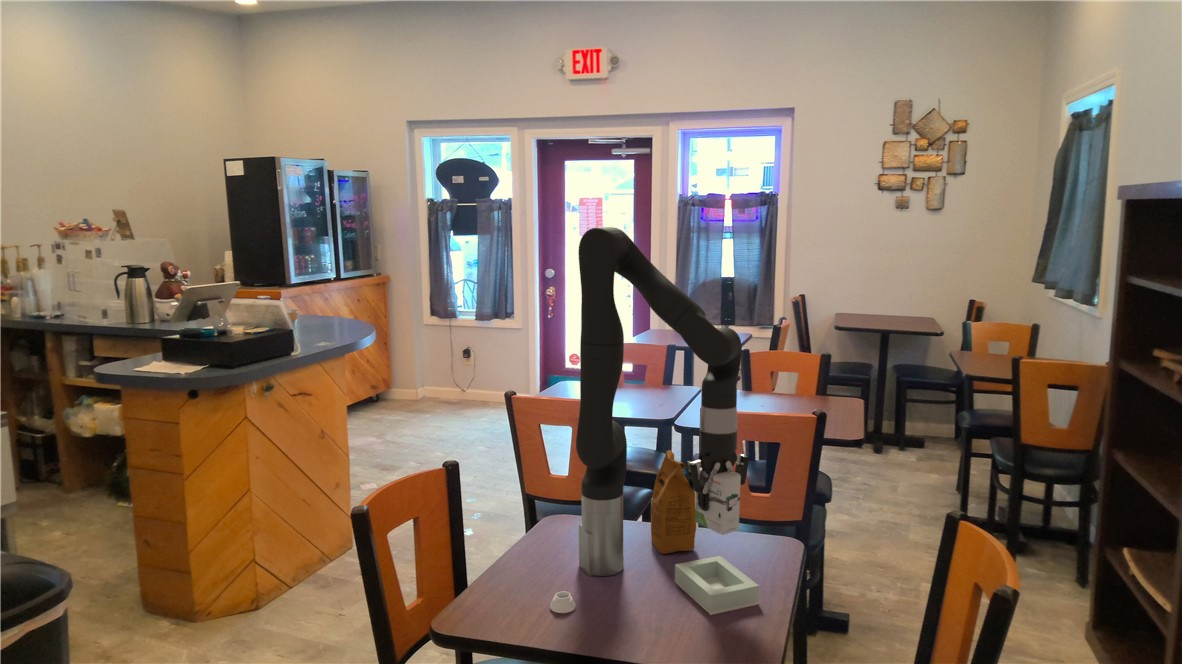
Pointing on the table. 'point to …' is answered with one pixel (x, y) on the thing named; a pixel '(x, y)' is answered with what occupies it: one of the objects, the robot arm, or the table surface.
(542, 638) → the table surface
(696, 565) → the pale green rectangular frame
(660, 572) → the table surface
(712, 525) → the ink box
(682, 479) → the coffee package
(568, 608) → the lidless jar
